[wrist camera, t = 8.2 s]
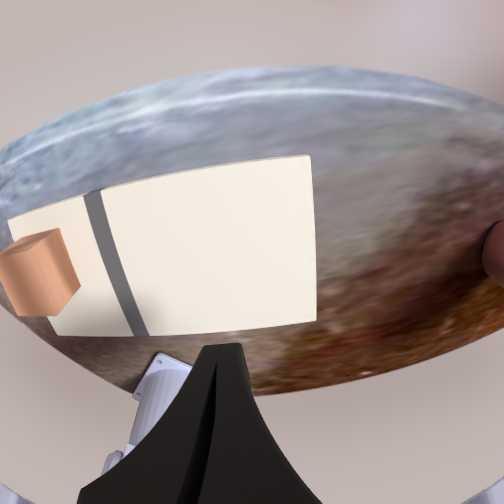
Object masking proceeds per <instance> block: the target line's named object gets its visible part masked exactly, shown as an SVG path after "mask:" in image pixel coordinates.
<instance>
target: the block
mask: <svg viewBox="0 0 504 504" xmlns="http://www.w3.org/2000/svg"><path fill="white" fill-rule="evenodd" d="M0 280H1V282H2V284H3V287H4V289H5V291H6V293H7V295H8V297H9V299H10V301H11V303H12V305H13V307H14V309H15V311H16V313H17V315H18V316H58V314H59V313H60V312H61V311H62V309H63V308H64V307H65V305H66V304H67V303H68V302H69V300H70V299H71V298H72V297H73V295H74V294H75V293H76V292H77V291H78V289H79V288H80V287H81V285H80V282H79V280H78V277H77V275H76V272H75V270H74V267H73V265H72V262H71V260H70V257H69V254H68V251H67V249H66V246H65V243H64V240H63V237H62V234H61V231H60V228H55V229H51V230H47V231H44V232H40V233H36V234H32V235H29V236H25V237H22V238H20V239H18V240H17V241H16V242H14V243H13V244H11V245H10V246H9V247H7V248H6V249H5V250H3V251H2V252H1V253H0Z"/></svg>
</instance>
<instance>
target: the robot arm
mask: <svg viewBox="0 0 504 504" xmlns="http://www.w3.org/2000/svg"><path fill="white" fill-rule="evenodd" d="M159 360H160V361H159ZM132 397H133V398H134V399H135V400H138V401H140V403H139V407H138V410H137V414H136V417H135V421H134V425H133V428H132V432H131V435H130V439H129V444H126V447H125V451H124V455H123V452H121V451H119V450H116V451H115V452H113V453H111V454H109V455H108V457H107V459H106V461H105V464H104V467H103V470H102V474H101V476H100V477H99V478H97V479H96V480H94V481H93V482H91V483H90V484H88V485H87V486H85V487H83V488H82V489H81V490H80V493H79V496H78V500H77V504H322V503H321V501H320V500H319V499H318V498H317V497H316V496H315V495H314V494H313V493H312V491H311V490H310V489H309V488H308V487H307V486H306V484H305V483H304V482H303V481H302V479H301V478H300V477H299V475H298V474H297V473H296V471H295V470H294V469H293V467H292V466H291V464H290V463H289V461H288V460H287V458H286V457H285V456H284V454H283V453H282V451H281V450H280V448H279V446H278V445H277V443H276V442H275V440H274V438H273V436H272V435H271V433H270V431H269V429H268V427H267V426H266V424H265V422H264V420H263V418H262V416H261V414H260V412H259V409H258V407H257V405H256V402H255V400H254V398H253V395H252V392H251V386H250V376H249V372H248V368H247V364H246V360H245V356H244V352H243V348H242V345H241V344H240V343H228V344H218V345H206V346H204V347H203V348H202V350H201V352H200V354H199V356H198V358H197V360H196V361H195V363H194V365H193V367H192V366H190V365H188V364H186V363H183V362H181V361H179V360H177V359H174V358H172V357H170V356H168V355H166V354H164V353H158V354H157V355H156V356H155V358H154V360H153V361H152V363H151V365H150V366H149V368H148V370H147V371H146V373H145V375H144V376H143V378H142V380H141V381H140V383H139V385H138V386H137V388H136V390H135V391H134V393H133V395H132ZM0 504H35V503H33V502H31V501H29V500H28V499H25V498H23V497H22V496H20V495H19V494H17V493H15V492H14V491H12V490H11V489H9V488H8V487H6V486H5V485H3V484H2V483H0ZM461 504H504V477H502V478H501V479H500V480H498V481H497V482H495V483H494V484H493V485H492V486H490V487H488V488H486V489H484V490H482V491H481V492H479V493H477V494H476V495H474V496H473V497H471V498H469V499H468V500H466V501H464V502H462V503H461Z"/></svg>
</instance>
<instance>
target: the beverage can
mask: <svg viewBox="0 0 504 504" xmlns="http://www.w3.org/2000/svg"><path fill="white" fill-rule="evenodd" d="M482 262H483V266H484V269H485V272H486V273H487V274H488V275H489V276H490V277H491V278H492V279H494V280H495V281H496V282H497V283H498V284H499V285H500V286H501V287H503V288H504V221H501V222H499V223H497V224H496V225H495V226H494V227H493V228H492V229H491V231H490V232H489V234H488V236H487V238H486V240H485V243H484V246H483V251H482Z"/></svg>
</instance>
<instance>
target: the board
mask: <svg viewBox="0 0 504 504" xmlns="http://www.w3.org/2000/svg"><path fill="white" fill-rule="evenodd" d="M8 224H9V227H10V231H11V234H12V237H13V240H14V242H16V241H17V240H18V239H20V238H22V237H25V236H29V235H32V234H36V233H40V232H44V231H47V230H51V229H55V228H60V231H61V234H62V237H63V240H64V243H65V246H66V249H67V251H68V254H69V257H70V260H71V262H72V265H73V267H74V270H75V272H76V275H77V277H78V280H79V282H80V285H81V287H80V288H79V289H78V291H77V292H76V293H75V294H74V295H73V297H72V298H71V299H70V300H69V302H68V303H67V304H66V305H65V307H64V308H63V309H62V311H61V312H60V313H59V314H58V316H47V317H48V319H49V321H50V323H51V324H52V326H53V328H54V330H55V331H56V333H57V335H62V336H100V337H123V336H162V335H183V334H199V333H212V332H224V331H235V330H246V329H255V328H264V327H272V326H280V325H288V324H295V323H302V322H309V321H316V252H315V225H314V205H313V189H312V175H311V163H310V156H309V155H307V154H305V155H293V156H282V157H273V158H264V159H255V160H247V161H240V162H232V163H225V164H219V165H212V166H206V167H200V168H195V169H189V170H183V171H178V172H173V173H168V174H163V175H158V176H153V177H149V178H144V179H140V180H135V181H131V182H127V183H123V184H119V185H115V186H111V187H107V188H103V189H99V190H96V191H92V192H88V193H85V194H81V195H78V196H74V197H71V198H68V199H64V200H61V201H58V202H55V203H52V204H49V205H46V206H43V207H40V208H37V209H34V210H31V211H28V212H25V213H23V214H20V215H17V216H15V217H13V218H11V219H9V220H8Z"/></svg>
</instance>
